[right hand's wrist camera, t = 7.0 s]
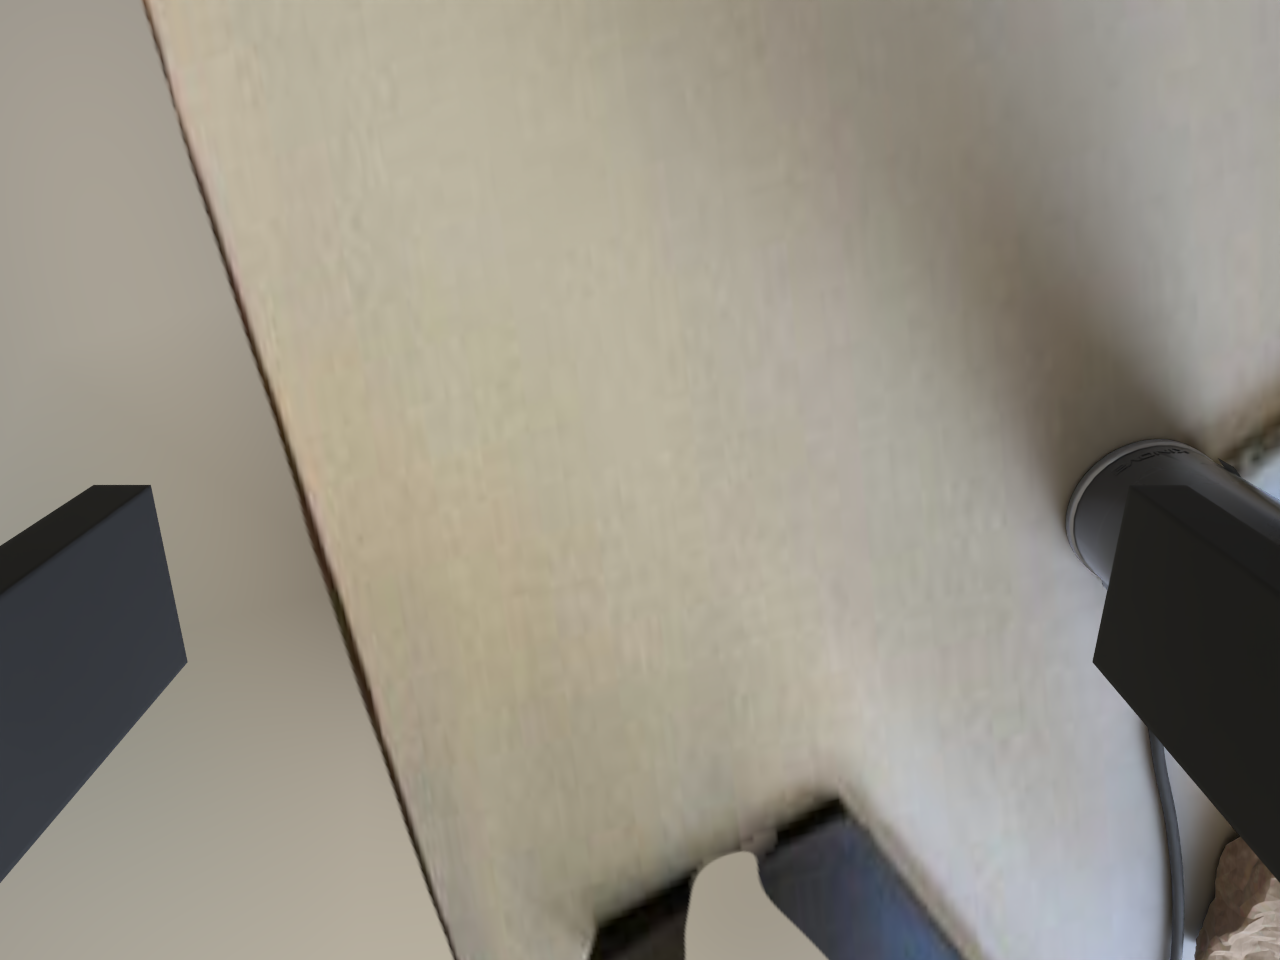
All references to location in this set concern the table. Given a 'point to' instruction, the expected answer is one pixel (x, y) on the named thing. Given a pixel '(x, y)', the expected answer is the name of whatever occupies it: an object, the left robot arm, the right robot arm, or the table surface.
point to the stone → (1241, 910)
